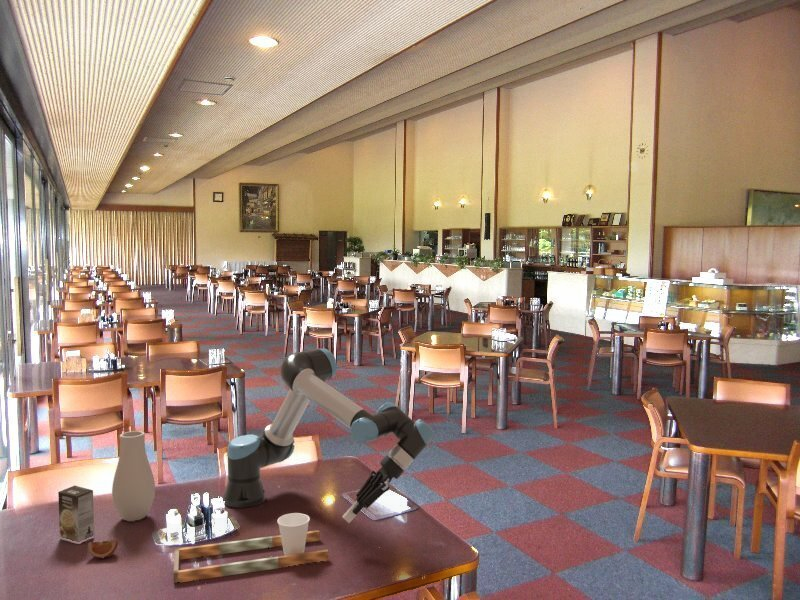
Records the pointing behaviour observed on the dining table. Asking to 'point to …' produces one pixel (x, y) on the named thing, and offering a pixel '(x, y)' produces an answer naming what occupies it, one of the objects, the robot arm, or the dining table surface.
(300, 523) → the cup
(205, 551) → the track
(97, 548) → the fruit slice
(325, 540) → the dining table surface
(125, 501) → the vase
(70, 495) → the coffee box
